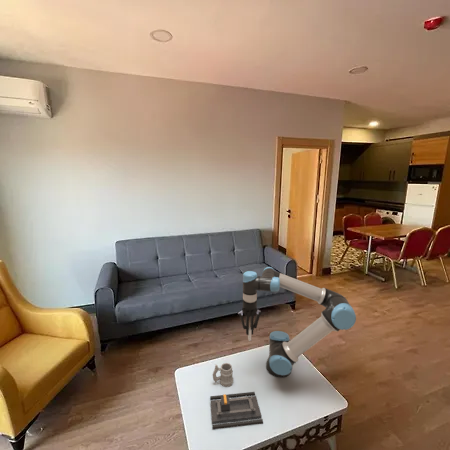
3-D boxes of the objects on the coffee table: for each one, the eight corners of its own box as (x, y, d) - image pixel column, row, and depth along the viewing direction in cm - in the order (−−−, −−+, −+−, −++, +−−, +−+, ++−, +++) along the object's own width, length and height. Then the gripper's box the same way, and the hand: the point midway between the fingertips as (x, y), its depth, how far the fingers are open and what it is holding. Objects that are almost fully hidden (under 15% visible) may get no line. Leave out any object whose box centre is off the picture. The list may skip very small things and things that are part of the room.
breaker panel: (255, 398, 137) (255, 393, 137) (261, 418, 126) (261, 413, 125) (210, 403, 135) (210, 397, 134) (212, 424, 123) (212, 418, 122)
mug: (234, 386, 146) (234, 367, 144) (213, 389, 143) (213, 370, 141) (231, 376, 153) (231, 357, 151) (211, 379, 151) (211, 360, 149)
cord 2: (262, 421, 124) (262, 419, 124) (263, 423, 123) (263, 421, 123) (212, 427, 121) (212, 424, 121) (212, 429, 120) (212, 427, 120)
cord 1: (254, 393, 140) (254, 391, 140) (254, 395, 139) (255, 393, 139) (210, 398, 138) (210, 396, 137) (210, 400, 136) (210, 398, 136)
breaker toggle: (228, 404, 132) (228, 393, 131) (229, 412, 127) (229, 402, 126) (220, 405, 131) (220, 394, 130) (221, 413, 127) (221, 403, 126)
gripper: (259, 296, 145) (259, 334, 149) (236, 297, 144) (236, 336, 147) (263, 302, 138) (262, 342, 142) (239, 303, 136) (239, 344, 140)
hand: (249, 339), depth 145 cm, fingers closed
